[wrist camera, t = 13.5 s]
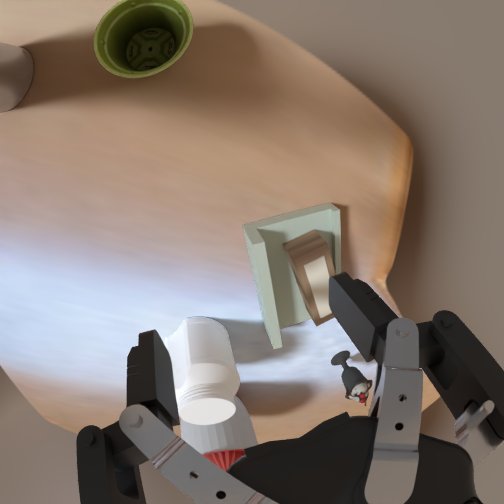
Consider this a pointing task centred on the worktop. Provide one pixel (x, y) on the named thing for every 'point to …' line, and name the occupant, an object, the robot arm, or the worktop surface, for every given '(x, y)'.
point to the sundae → (352, 379)
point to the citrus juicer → (222, 437)
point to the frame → (312, 273)
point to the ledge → (287, 262)
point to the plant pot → (142, 36)
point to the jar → (203, 371)
